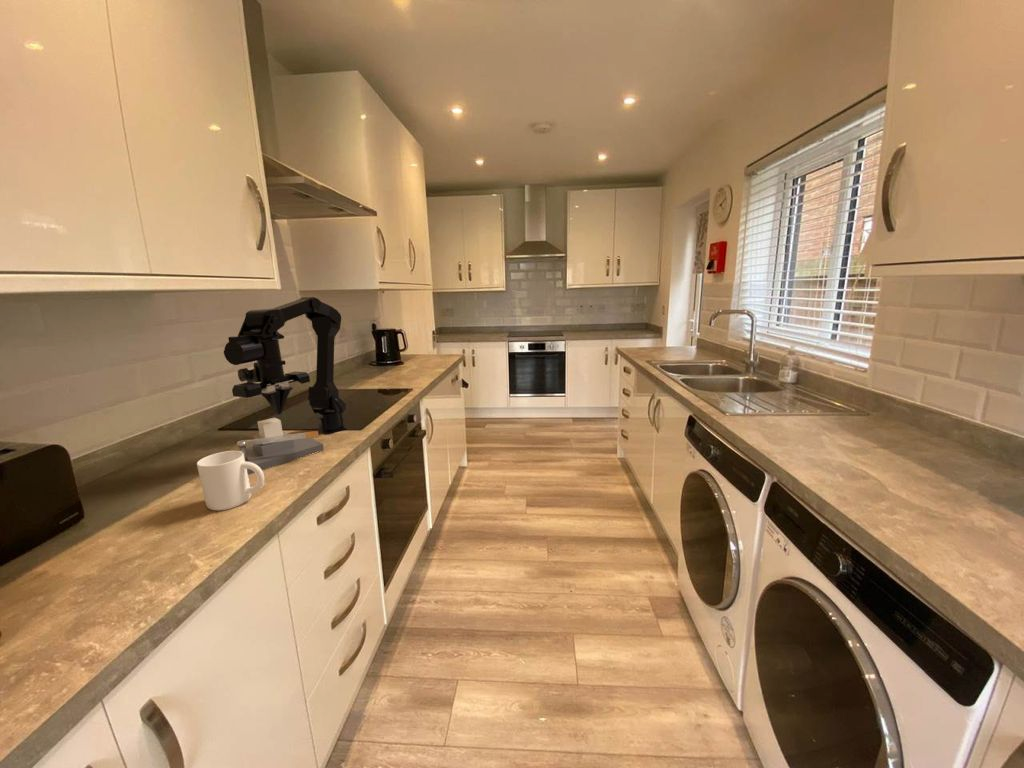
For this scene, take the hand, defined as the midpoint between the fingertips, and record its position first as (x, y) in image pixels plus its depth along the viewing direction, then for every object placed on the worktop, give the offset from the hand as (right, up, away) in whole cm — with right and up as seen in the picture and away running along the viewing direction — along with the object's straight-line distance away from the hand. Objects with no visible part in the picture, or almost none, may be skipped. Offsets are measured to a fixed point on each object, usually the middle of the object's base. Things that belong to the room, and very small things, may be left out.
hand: (278, 414), depth 111 cm
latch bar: (+2, -7, -3) cm, 8 cm away
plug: (-3, -10, +3) cm, 11 cm away
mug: (+4, -18, -22) cm, 28 cm away
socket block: (-3, -12, +3) cm, 12 cm away
